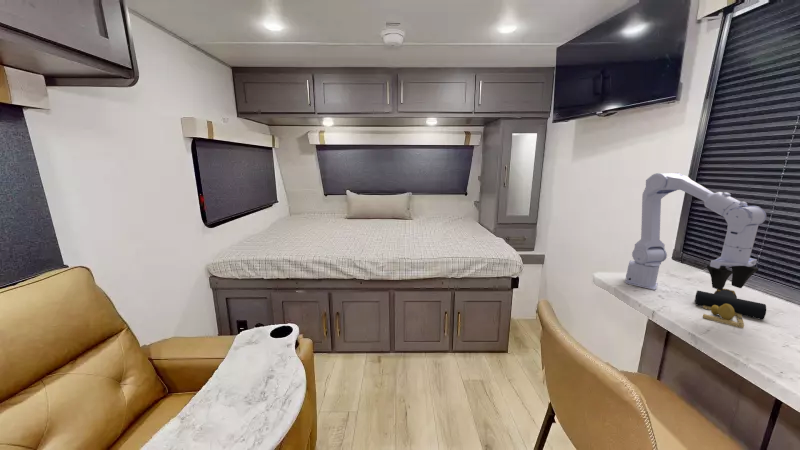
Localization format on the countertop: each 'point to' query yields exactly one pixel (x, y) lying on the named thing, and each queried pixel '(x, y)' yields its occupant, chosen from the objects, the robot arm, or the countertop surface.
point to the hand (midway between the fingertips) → (726, 287)
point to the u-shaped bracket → (737, 324)
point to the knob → (723, 311)
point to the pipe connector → (731, 303)
